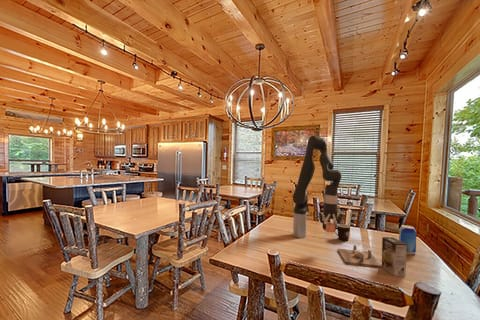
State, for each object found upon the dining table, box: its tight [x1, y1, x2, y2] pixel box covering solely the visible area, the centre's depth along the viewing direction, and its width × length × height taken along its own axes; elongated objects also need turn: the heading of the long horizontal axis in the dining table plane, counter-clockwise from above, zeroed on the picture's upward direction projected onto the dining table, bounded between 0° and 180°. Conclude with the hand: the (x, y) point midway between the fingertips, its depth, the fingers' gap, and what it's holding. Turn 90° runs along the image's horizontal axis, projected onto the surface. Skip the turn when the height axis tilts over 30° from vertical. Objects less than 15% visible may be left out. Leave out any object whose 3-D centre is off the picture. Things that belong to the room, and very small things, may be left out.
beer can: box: [398, 224, 417, 255], centre depth 135 cm, size 8×8×16 cm
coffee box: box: [381, 236, 407, 277], centre depth 111 cm, size 9×6×16 cm
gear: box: [324, 221, 336, 234], centre depth 130 cm, size 6×6×4 cm
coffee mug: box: [334, 223, 351, 242], centre depth 154 cm, size 12×9×10 cm
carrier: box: [337, 244, 383, 269], centre depth 124 cm, size 18×18×5 cm
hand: (329, 229), depth 130 cm, fingers closed on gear, 5 cm apart
